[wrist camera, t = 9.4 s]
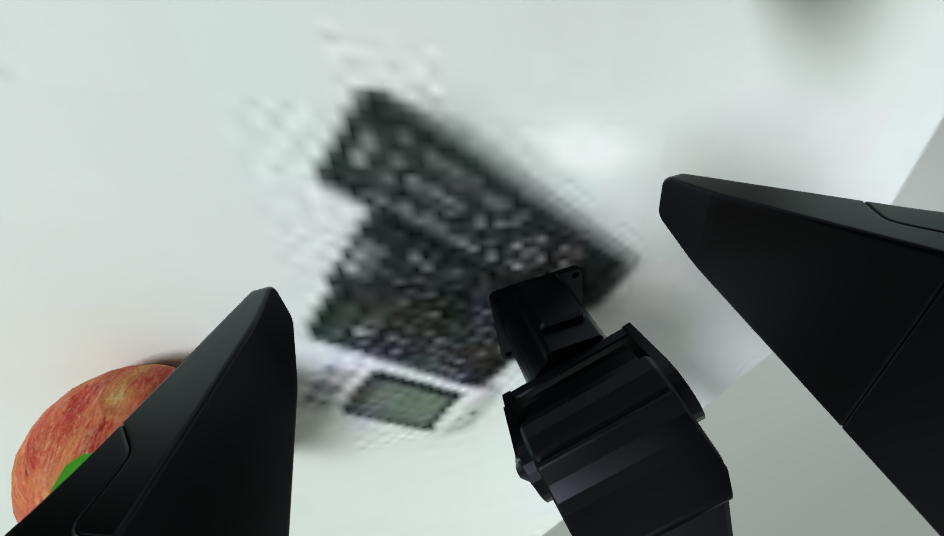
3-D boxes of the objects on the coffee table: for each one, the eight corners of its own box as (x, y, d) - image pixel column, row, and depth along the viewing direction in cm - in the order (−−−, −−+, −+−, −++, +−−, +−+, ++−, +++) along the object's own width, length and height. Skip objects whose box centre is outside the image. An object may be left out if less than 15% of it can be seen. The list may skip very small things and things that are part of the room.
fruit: (75, 435, 26) (-39, 640, 18) (60, 318, 21) (-101, 522, 13) (233, 435, 29) (196, 606, 21) (249, 335, 25) (209, 504, 17)
